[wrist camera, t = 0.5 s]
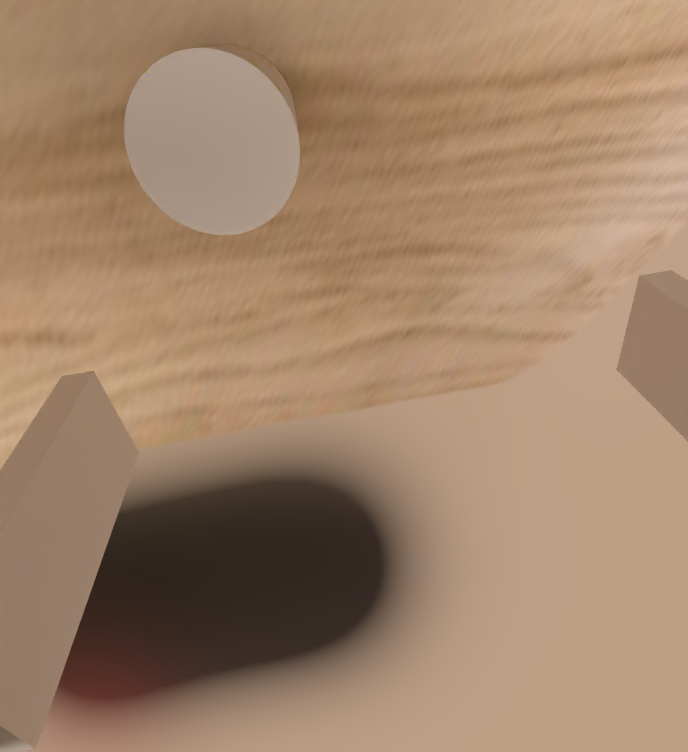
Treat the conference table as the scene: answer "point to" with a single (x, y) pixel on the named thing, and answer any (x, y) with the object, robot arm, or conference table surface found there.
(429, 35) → the conference table surface
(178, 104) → the cup
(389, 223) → the conference table surface
